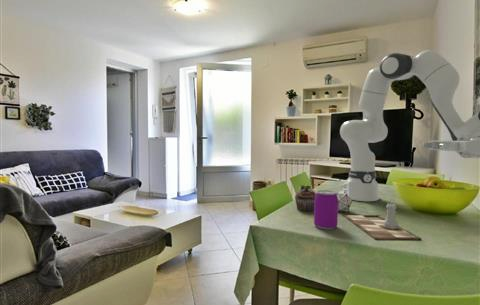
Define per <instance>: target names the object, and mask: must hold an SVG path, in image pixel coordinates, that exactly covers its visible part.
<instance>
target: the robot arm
mask: <svg viewBox="0 0 480 305" xmlns="http://www.w3.org/2000/svg"><path fill="white" fill-rule="evenodd" d="M415 76H416V77H417V78H418V79H419V80H420V81H421V83H423V84H424V85H425V86H424V87H426V88H427V89H426V90H428V93H429V96H430V103H431V105H432V107H433V108H434V110H435V111H436V113H437V115H438V116H439V118H440V119H441V121H442V122H443V124H444V126H445V127H446V129H447V130H448V133H449V135H450V137H451V140H444V139H443V140H439V139H438V140H437V139H436V140H432V139H431V140H428V142H423V143H422V145H421V146H422V148H426V149H428V150H431V151H445V152H446V151H447V152H456V153H457V154H458V155H459V156H460V157H461V158H463V159H480V111H478V112H476V114H474V115H472V116H471V117H470V118H468V119H467V120H466V121H465V122H464V121H463V119H462V117H461V116H460V115H459V113H458V112H457V110H456V109H455V106H454V104H453V99H454V95H455V92H456V91H457V88H458V86H459V84H460V73H459V72H458V71H457V69H456V68H455V67H454V66H453V65H452V63H450V62H449V60H447V59H446V58H445V57H444V56H442V55H441V54H439V53H438V52H436V51H435V50H433V49H426V50H423V51H421V52H419V53H417V55H415V56H412V55H410V54H407V53H399V52H394V53H390V54H388V55H386V56H385V57H383V59H382V60H381V61H380V64H379V67H374V68H372V69H371V70H369V72H368V73H367V75H366V78H365V80H364V83H363V86H362V89H361V93H360V96H359V97H360V98H359V101H358V109H359V110H360V111H361V112H362V119H352V120H347V121H344V122H343V123H342V124H341V126H340V129H339V135H340V138H341V139H342V140H343V141H344V142H345V143H346V145H347V146H348V150H349V152H350V153H349V154H350V170H349V173H348V178H347V179H346V180H345V181H344V182H343V183H342V184H341V189H342V190H340V191H338V193H344V192H346V193H345V194H347V196H348V197H349V198H351V199H352V200H355V201H356V202H357V201H358V202H376V201H378V200H381V198H382V197H381V196H379V184H378V182H377V181H376V175H377V172H376V168H375V167H376V155H375V153H374V152H373V151H371V149H370V147H369V143H372V144H374V143H378V142H382V141H384V140H385V139H386V138H387V136H388V133H389V131H388V130H389V129H388V126H387V125H386V123H385V121H384V109H385V108H384V107H385V103H386V101H387V100H386V99H387V95H388V92H389V88H390V86H391V84H392V83H393V82H400V81H407V80H410V79H412V78H415Z"/></svg>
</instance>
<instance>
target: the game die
mask: <svg viewBox="0 0 480 305" xmlns="http://www.w3.org/2000/svg"><path fill="white" fill-rule="evenodd" d="M345 193H346V192H344V193H339V192H338V193H336V194H337V197H338V213H340V212H342V211H343V212H346V211H347V212H349V213H350V210H349V209H350V208H351V205H352V203H353V202H355V201H356V200H352V199H351V198H349V197H348V196H347V194H345Z"/></svg>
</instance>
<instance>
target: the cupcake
mask: <svg viewBox="0 0 480 305" xmlns="http://www.w3.org/2000/svg"><path fill="white" fill-rule="evenodd" d="M316 193H317V192H315V191H314V189H313V188H312V187H311V185H300V186H299V188H298V190H297V191H296V194H295V196H294V200H295V205H296V209H297V210H298V211H300V212H307V213H312V212H313V213H314V204H315V196H316Z"/></svg>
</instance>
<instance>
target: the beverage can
mask: <svg viewBox="0 0 480 305" xmlns="http://www.w3.org/2000/svg"><path fill="white" fill-rule="evenodd" d="M315 193H316V196H315V204H314V211H313V214H314V215H313V224H314V226H316V227H317V229H321V230H327V231H329V230H335V229H336V227H338V220H339V219H338V217H339V216H338V214H339V210H338V197H337V194H338V193H337V192H336V191H334V190H329V189H328V190H327V189H324V190H323V189H321V190H320V189H319V190H317V191H316V192H315Z"/></svg>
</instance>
